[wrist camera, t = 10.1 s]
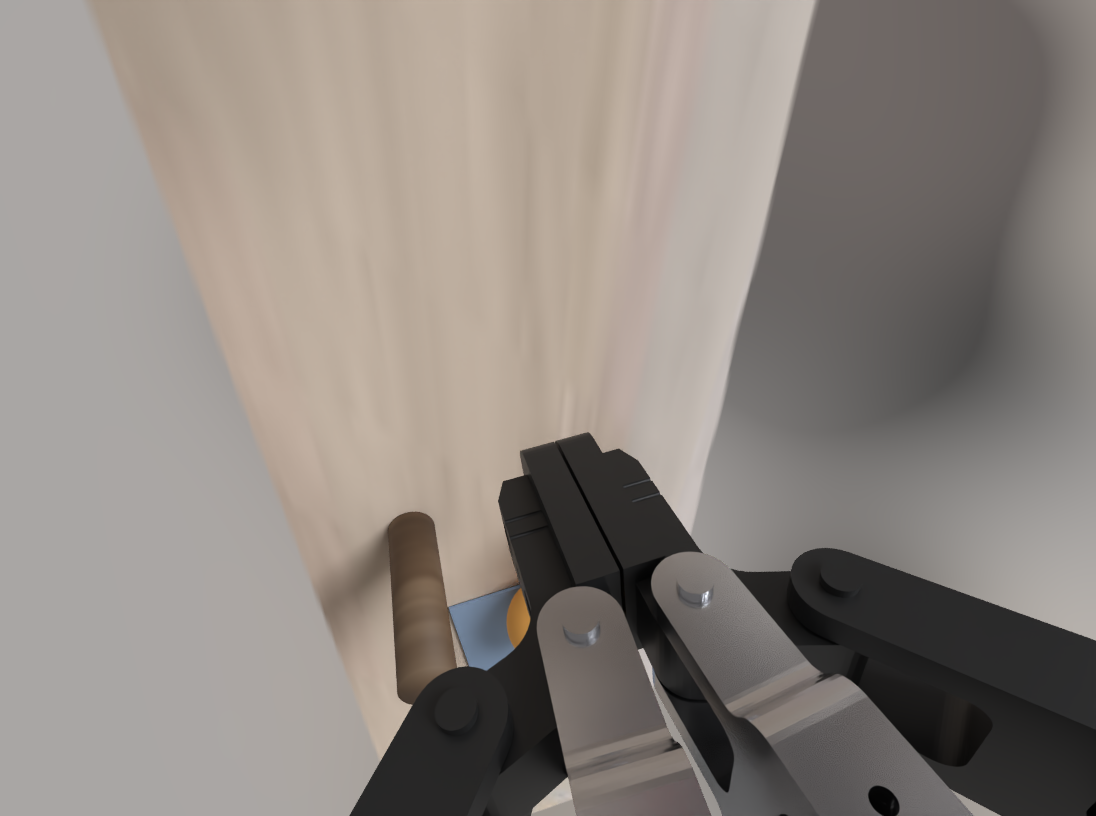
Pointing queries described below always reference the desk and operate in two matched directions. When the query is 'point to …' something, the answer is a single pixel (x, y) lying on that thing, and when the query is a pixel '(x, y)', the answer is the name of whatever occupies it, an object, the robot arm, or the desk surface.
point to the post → (418, 605)
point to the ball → (517, 619)
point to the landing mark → (484, 627)
